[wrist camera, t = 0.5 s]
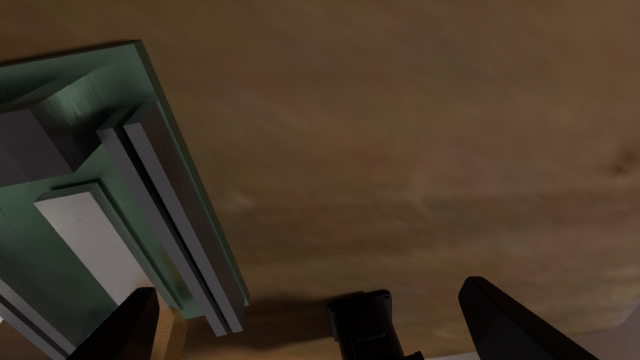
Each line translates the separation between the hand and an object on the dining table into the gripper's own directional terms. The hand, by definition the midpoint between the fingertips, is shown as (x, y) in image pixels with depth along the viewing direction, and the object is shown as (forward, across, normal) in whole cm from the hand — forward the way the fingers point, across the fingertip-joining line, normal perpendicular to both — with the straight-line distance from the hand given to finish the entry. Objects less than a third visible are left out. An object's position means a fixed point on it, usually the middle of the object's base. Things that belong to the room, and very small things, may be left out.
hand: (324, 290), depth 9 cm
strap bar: (+12, +11, +12) cm, 20 cm away
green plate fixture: (+14, +12, +9) cm, 20 cm away
